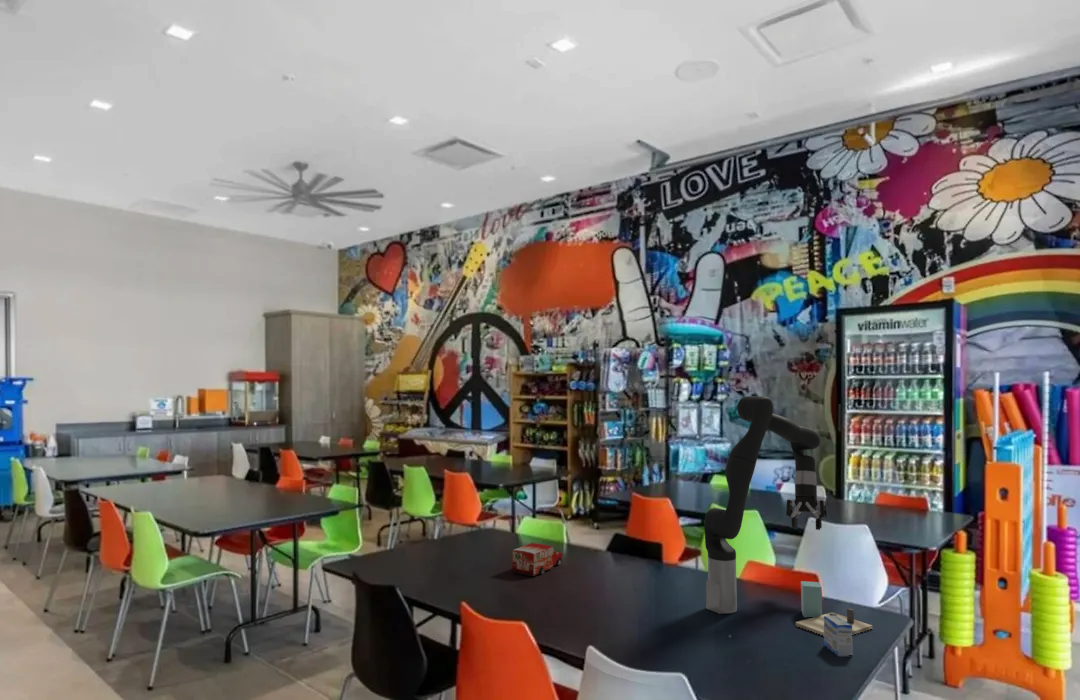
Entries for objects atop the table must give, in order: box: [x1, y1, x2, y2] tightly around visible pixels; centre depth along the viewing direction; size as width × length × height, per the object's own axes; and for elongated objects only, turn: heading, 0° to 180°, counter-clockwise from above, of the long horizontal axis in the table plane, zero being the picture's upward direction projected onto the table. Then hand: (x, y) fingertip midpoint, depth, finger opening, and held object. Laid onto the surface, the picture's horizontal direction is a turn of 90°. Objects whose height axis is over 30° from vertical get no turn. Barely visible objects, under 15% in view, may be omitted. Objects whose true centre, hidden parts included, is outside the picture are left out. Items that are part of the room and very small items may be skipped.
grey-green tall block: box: [800, 580, 823, 618], centre depth 219 cm, size 6×6×10 cm
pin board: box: [795, 608, 873, 637], centre depth 207 cm, size 18×14×5 cm
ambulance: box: [511, 542, 563, 577], centre depth 273 cm, size 11×25×10 cm, turn 147°
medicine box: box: [823, 616, 854, 657], centre depth 190 cm, size 8×4×9 cm, turn 5°
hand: (806, 529), depth 243 cm, fingers open, 8 cm apart
